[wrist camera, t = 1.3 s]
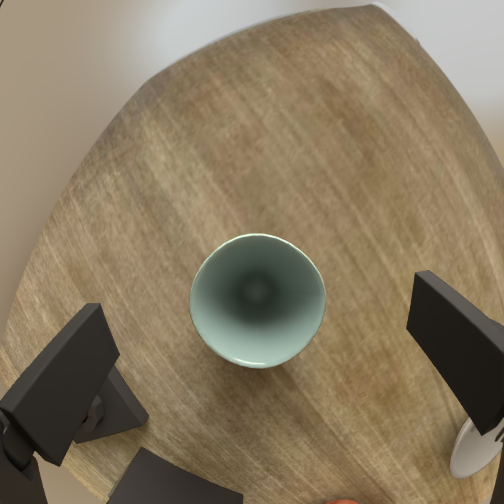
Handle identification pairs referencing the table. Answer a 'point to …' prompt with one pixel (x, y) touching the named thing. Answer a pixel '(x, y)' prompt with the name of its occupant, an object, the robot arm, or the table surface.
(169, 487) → the coffee maker
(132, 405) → the control pad
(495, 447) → the dish
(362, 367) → the table surface
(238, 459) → the table surface
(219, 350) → the cup
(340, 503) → the potted plant
